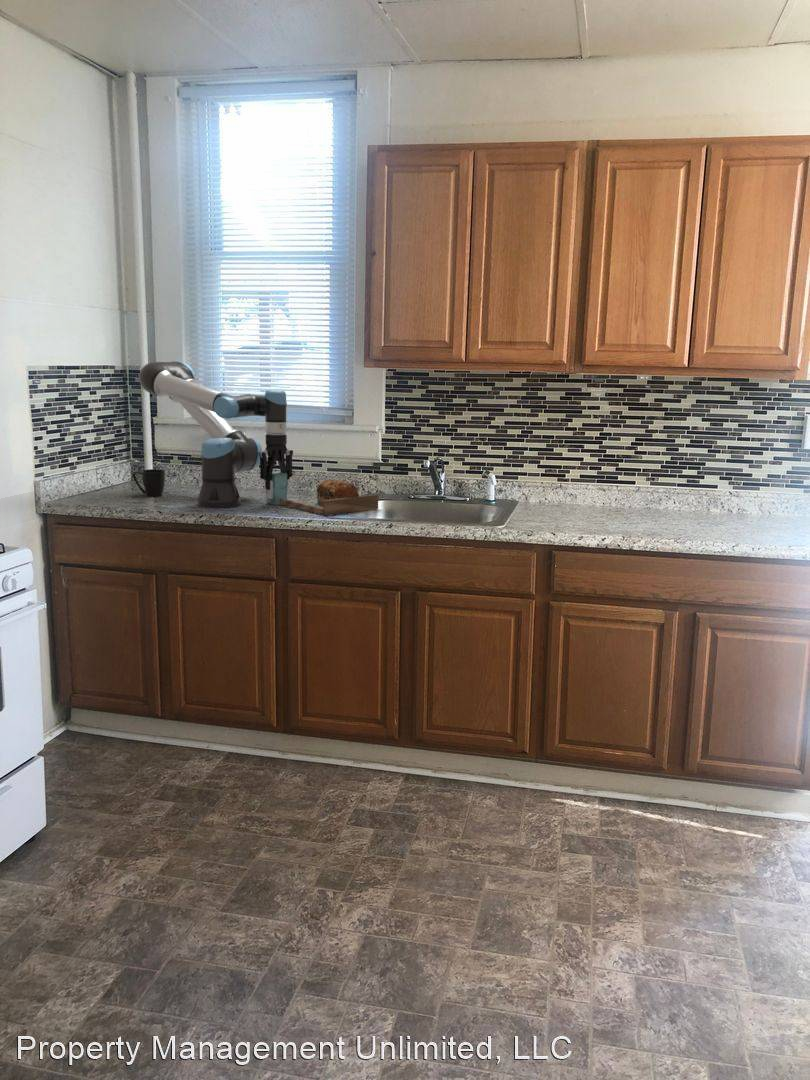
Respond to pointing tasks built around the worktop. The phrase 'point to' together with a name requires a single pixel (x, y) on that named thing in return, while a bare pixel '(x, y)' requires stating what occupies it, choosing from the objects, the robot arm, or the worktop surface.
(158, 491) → the mug
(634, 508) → the worktop surface
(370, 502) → the sled
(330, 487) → the bread
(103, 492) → the worktop surface
